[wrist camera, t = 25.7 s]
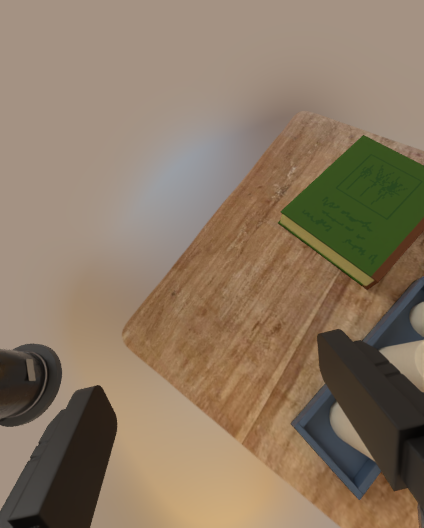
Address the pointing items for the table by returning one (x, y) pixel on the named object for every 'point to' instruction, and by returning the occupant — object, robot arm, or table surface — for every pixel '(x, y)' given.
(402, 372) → the row bottle
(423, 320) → the row bottle
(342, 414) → the bottle
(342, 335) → the robot arm
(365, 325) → the table surface
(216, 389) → the table surface
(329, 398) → the tray
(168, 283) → the table surface
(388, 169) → the hardcover book
